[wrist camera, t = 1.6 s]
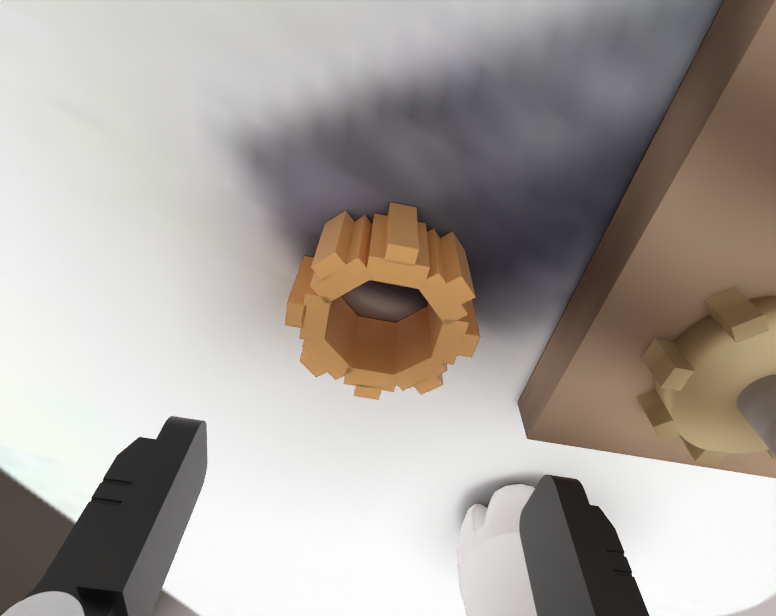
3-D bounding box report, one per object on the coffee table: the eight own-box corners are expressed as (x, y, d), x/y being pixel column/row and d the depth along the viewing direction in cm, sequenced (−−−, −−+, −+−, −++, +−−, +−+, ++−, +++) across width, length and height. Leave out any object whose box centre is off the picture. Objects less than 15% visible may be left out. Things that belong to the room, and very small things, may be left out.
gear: (311, 186, 16) (294, 225, 13) (492, 222, 16) (507, 266, 14) (295, 331, 19) (279, 383, 17) (444, 356, 20) (450, 411, 17)
